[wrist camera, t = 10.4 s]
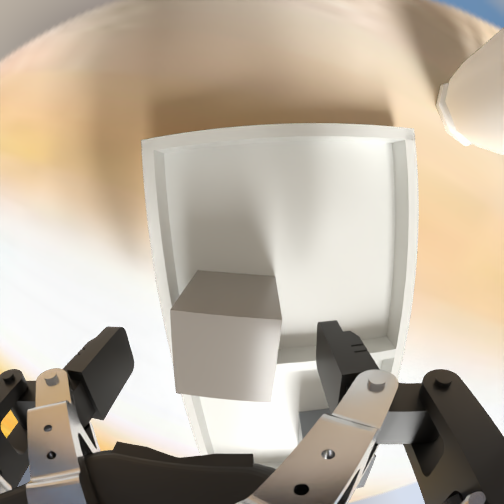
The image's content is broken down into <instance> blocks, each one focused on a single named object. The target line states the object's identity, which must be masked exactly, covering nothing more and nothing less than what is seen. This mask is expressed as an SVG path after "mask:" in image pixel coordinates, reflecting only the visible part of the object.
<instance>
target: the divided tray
mask: <svg viewBox="0 0 504 504" xmlns="http://www.w3.org/2000/svg"><path fill="white" fill-rule="evenodd" d="M141 145H142V164H143V178H144V190H145V201H146V211H147V220H148V229H149V237H150V244H151V251H152V258H153V265H154V271H155V278H156V283H157V289H158V295H159V300H160V306H161V311H162V316H163V321H164V326H165V330H166V335H167V339H168V344H169V348H170V353H171V357H172V361H173V353H172V338H171V320H170V309H171V308H172V306H173V305H174V303H175V302H176V300H177V299H178V298H179V296H180V295H181V293H182V292H183V290H184V289H185V287H186V286H187V285H188V283H189V282H190V280H191V279H192V277H193V276H194V275H195V273H196V272H197V270H203V271H215V272H227V273H240V274H254V275H268V276H275V278H276V284H277V290H278V296H279V302H280V308H281V314H282V327H281V334H280V342H279V349H278V357H277V364H276V371H275V378H274V385H273V391H272V398H271V402H253V401H239V400H227V399H218V398H209V397H201V396H193V395H186V394H181V395H182V399H183V402H184V406H185V409H186V413H187V416H188V419H189V422H190V426H191V429H192V432H193V435H194V438H195V441H196V444H197V447H198V450H199V453H200V456H202V455H209V454H216V453H219V454H253V457H254V463H256V464H261V465H265V466H269V467H272V468H275V469H277V468H278V467H279V466H280V465H281V464H282V463H283V461H284V460H285V459H286V458H287V457H288V456H289V455H290V454H291V452H292V451H293V450H294V449H295V448H296V447H297V445H298V418H299V412H302V411H310V410H318V409H326V408H329V407H328V403H327V400H326V397H325V393H324V390H323V387H322V383H321V380H320V377H319V374H318V370H317V365H316V341H317V324H318V322H323V321H333V320H337V322H338V323H339V325H340V327H341V329H342V330H343V331H351V332H353V333H355V334H356V335H358V336H359V337H360V339H361V340H362V342H363V343H364V345H365V347H366V348H367V351H369V353H370V355H371V356H372V358H373V359H374V361H375V363H376V364H377V366H378V368H379V369H380V370H384V371H387V372H390V373H391V374H393V375H394V376H395V377H396V378H397V380H398V377H399V373H400V368H401V364H402V359H403V355H404V350H405V345H406V340H407V334H408V328H409V322H410V316H411V309H412V302H413V294H414V285H415V275H416V263H417V247H418V216H419V201H418V171H417V155H416V144H415V134H414V129H411V128H402V127H392V126H380V125H364V124H341V123H291V124H267V125H251V126H238V127H227V128H218V129H209V130H201V131H193V132H186V133H179V134H173V135H167V136H161V137H155V138H150V139H144V140H141Z"/></svg>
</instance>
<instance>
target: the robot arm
mask: <svg viewBox="0 0 504 504" xmlns="http://www.w3.org/2000/svg"><path fill="white" fill-rule="evenodd" d="M316 365H317V370H318V374H319V377H320V380H321V383H322V387H323V390H324V393H325V397H326V400H327V403H328V407H329V410H330V414H328V413H325V414H323V415H322V416H321V417H320V418H319V420H318V421H317V422H316V423H315V425H314V426H313V427H312V428H311V430H310V431H309V432H308V433H307V435H306V436H305V437H304V438H303V440H302V441H301V442H300V443H299V444H298V445H297V447H296V448H295V449H294V450H293V451H292V452H291V454H290V455H289V456H288V457H287V458H286V459H285V460H284V461H283V463H282V464H281V465H280V466H279V467H278V468H277V469H275V468H272V467H269V466H265V465H261V464H256V463H254V457H253V454H219V453H216V454H209V455H202V456H193V457H184V458H177V457H173V456H170V455H168V454H165V453H162V452H159V451H156V450H153V449H151V448H148V447H144V446H138V445H132V444H127V443H122V442H117V443H116V445H115V447H114V449H113V450H108V451H100V448H99V445H98V442H97V439H96V436H95V432H94V429H93V426H92V424H91V422H90V420H91V418H95V419H100V420H104V419H105V417H106V415H107V413H108V412H109V410H110V408H111V407H112V405H113V403H114V401H115V400H116V398H117V396H118V395H119V393H120V391H121V390H122V388H123V386H124V385H125V383H126V381H127V380H128V378H129V376H130V375H131V373H132V371H133V368H134V359H133V355H132V352H131V348H130V345H129V341H128V337H127V334H126V331H125V329H124V328H123V327H106V328H105V329H104V330H103V331H102V332H101V333H100V334H99V335H98V336H97V337H96V338H94V339H93V340H91V341H89V342H88V343H87V344H86V345H85V346H84V347H83V348H82V349H81V350H80V351H79V352H78V355H75V357H74V358H73V359H72V360H71V361H70V362H69V363H68V364H67V365H66V366H65V367H64V368H63V369H59V368H55V369H50V370H47V371H45V372H43V373H41V374H40V375H39V376H38V378H37V380H36V381H26V380H25V378H24V376H23V374H22V372H21V371H20V370H17V369H12V370H8V371H5V372H3V373H2V374H1V375H0V425H1V421H2V419H3V418H4V417H5V416H6V414H7V413H8V412H9V411H10V409H11V411H12V412H13V414H14V416H15V417H16V419H17V420H18V424H17V425H16V426H15V428H14V429H13V430H12V432H11V433H10V435H9V436H8V437H7V439H6V437H5V436H4V434H3V433H2V431H1V426H0V504H347V503H348V502H349V500H350V498H351V497H352V495H353V493H354V491H355V489H356V487H357V486H358V484H359V482H360V480H361V478H362V477H363V475H364V473H365V471H366V469H367V468H368V466H369V464H370V462H371V460H372V458H373V456H374V454H375V452H376V450H377V448H378V446H379V444H403V445H404V447H405V450H406V452H407V455H408V458H409V460H410V463H411V465H412V468H413V471H414V473H415V476H416V479H417V481H418V484H419V487H420V490H421V493H422V496H423V498H424V501H425V504H504V437H503V435H502V434H501V432H500V431H499V429H498V428H497V426H496V425H495V424H494V422H493V421H492V419H491V418H490V417H489V415H488V414H487V412H486V411H485V410H484V408H483V407H482V406H481V404H480V403H479V402H478V400H477V399H476V398H475V396H474V395H473V394H472V392H471V391H470V390H469V389H468V387H467V386H466V385H465V383H464V382H463V381H462V380H461V378H460V377H459V376H458V375H457V374H455V373H453V372H451V371H448V370H443V369H438V370H433V371H430V372H428V373H427V374H426V375H425V376H424V378H423V381H422V383H414V384H405V383H398V380H397V378H396V377H395V376H394V375H393V374H391V373H390V372H387V371H384V370H380V369H379V368H378V366H377V364H376V363H375V361H374V359H373V358H372V356H371V355H370V353H369V351H367V348H366V347H365V345H364V343H363V342H362V340H361V339H360V337H359V336H358V335H356V334H355V333H353V332H351V331H343V330H342V329H341V327H340V325H339V323H338V322H337V320H333V321H323V322H318V324H317V341H316ZM28 466H29V467H30V477H31V479H30V482H28V483H26V484H24V485H22V486H19V487H17V486H18V484H19V482H20V480H21V478H22V477H23V475H24V473H25V471H26V470H27V468H28Z"/></svg>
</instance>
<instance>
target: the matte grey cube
mask: <svg viewBox="0 0 504 504" xmlns="http://www.w3.org/2000/svg"><path fill="white" fill-rule="evenodd" d="M325 413H328V414H330V410H329V408H326V409H318V410H310V411H302V412H299V418H298V444H299V443H300V442H301V441H302V440H303V438H304V437H305V436H306V435H307V433H308V432H309V431H310V430H311V428H312V427H313V426H314V425H315V423H316V422H317V421H318V420H319V418H320V417H321V416H322V415H323V414H325ZM375 457H376V455H375V454H374V456H373V458H372V460H371V462H370V464H369V466H368V468H367V469H366V471H365V473H364V475H363V477H362V478H361V480H360V482H359V484H358V486H357V487H356V488H360V487H364V485H365V482H366V480H367V477H368V475H369V473H370V470H371V468H372V465H373V463H374V460H375Z"/></svg>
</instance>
